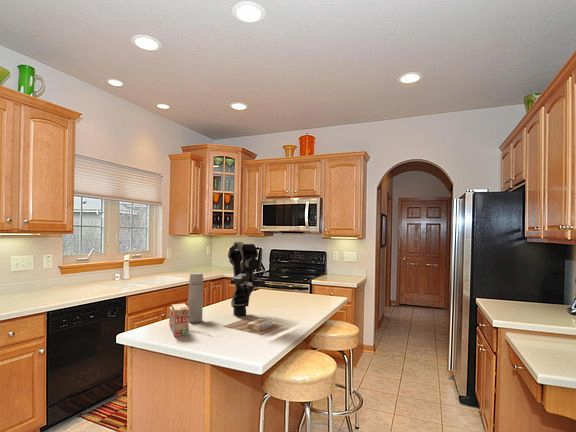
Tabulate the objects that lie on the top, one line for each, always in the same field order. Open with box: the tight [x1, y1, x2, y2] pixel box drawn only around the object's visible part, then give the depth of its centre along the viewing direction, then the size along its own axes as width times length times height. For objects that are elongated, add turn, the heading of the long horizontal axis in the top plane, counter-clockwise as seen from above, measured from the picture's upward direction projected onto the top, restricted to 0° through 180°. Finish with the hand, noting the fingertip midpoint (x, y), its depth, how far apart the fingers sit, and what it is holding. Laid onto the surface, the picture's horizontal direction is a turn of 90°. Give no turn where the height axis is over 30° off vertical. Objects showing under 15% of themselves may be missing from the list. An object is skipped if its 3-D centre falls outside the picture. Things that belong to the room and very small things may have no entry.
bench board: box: [222, 318, 284, 336], centre depth 165 cm, size 24×18×2 cm
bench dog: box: [261, 319, 273, 331], centre depth 161 cm, size 2×7×4 cm, turn 147°
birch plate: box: [247, 318, 268, 331], centre depth 164 cm, size 7×10×2 cm
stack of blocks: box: [168, 303, 190, 338], centre depth 163 cm, size 21×6×12 cm, turn 26°
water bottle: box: [186, 272, 204, 324], centre depth 180 cm, size 9×8×25 cm
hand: (247, 298), depth 174 cm, fingers closed
